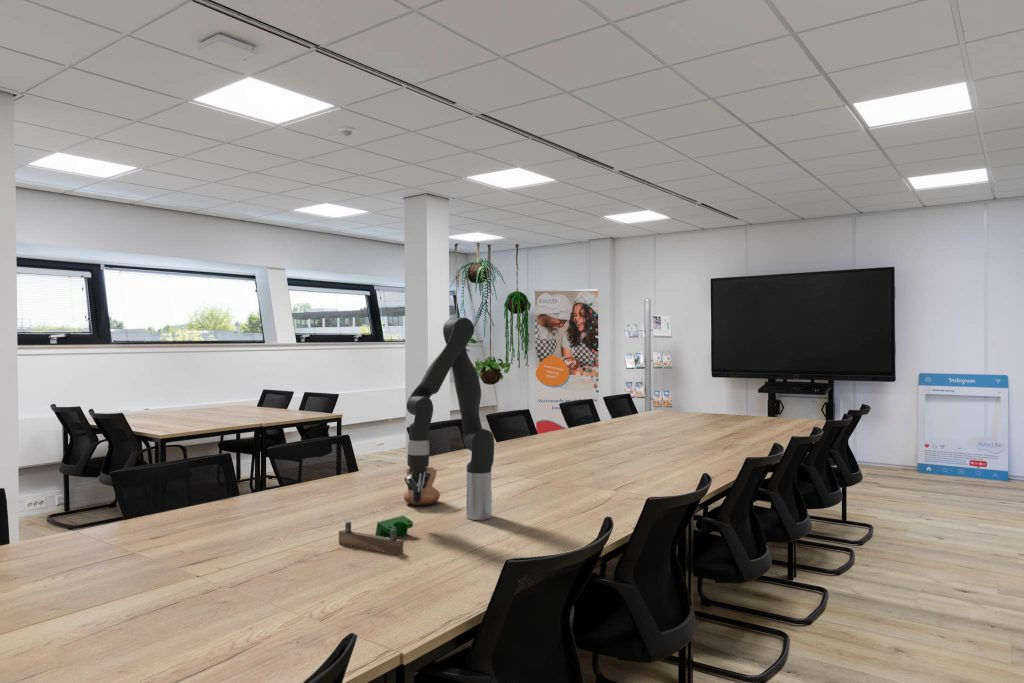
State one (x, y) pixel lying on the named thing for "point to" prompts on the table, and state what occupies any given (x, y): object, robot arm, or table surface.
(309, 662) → the table surface
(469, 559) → the table surface
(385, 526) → the clamp
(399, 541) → the bar
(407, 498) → the ceramic jug
